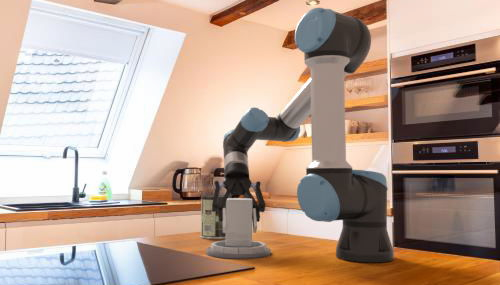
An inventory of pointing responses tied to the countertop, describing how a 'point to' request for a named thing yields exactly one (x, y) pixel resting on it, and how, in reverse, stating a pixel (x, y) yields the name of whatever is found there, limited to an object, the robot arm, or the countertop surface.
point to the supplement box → (239, 222)
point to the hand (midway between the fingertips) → (239, 229)
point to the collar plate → (238, 250)
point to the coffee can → (210, 219)
